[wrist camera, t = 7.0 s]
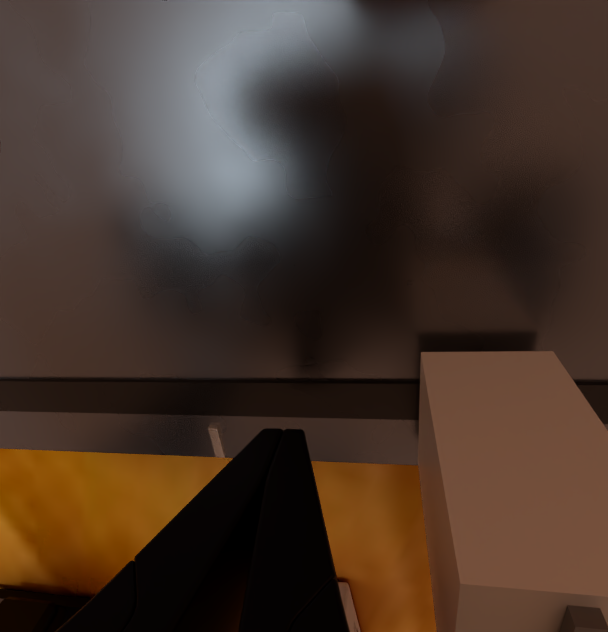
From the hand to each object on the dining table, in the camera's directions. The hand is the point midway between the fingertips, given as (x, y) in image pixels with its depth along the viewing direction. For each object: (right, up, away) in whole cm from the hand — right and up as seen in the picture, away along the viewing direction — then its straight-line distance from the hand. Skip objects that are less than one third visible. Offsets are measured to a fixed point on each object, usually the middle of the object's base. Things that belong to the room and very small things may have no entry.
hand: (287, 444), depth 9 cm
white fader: (+4, +1, 0) cm, 4 cm away
